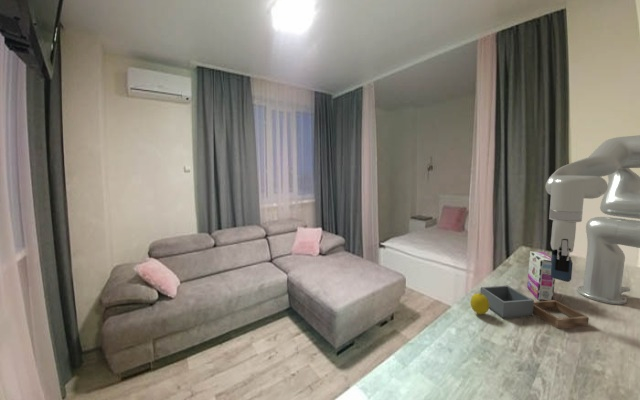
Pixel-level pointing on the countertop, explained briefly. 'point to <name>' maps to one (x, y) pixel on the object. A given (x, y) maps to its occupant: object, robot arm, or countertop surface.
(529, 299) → the bin
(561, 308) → the brown wooden square frame
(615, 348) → the countertop surface
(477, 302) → the lemon
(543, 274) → the candy bar box
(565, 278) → the vaping device
